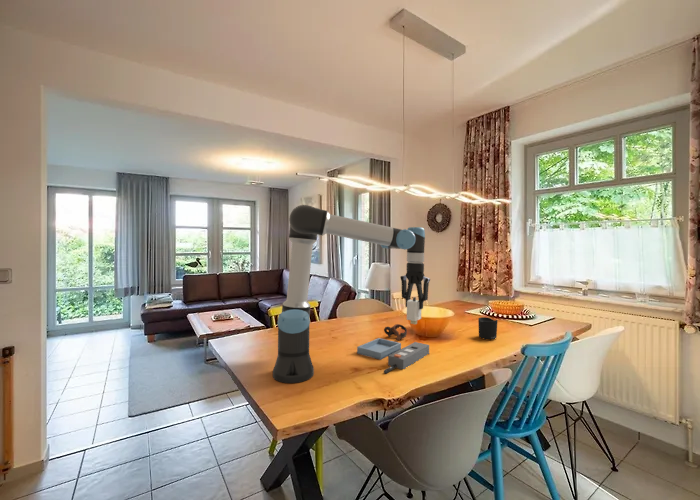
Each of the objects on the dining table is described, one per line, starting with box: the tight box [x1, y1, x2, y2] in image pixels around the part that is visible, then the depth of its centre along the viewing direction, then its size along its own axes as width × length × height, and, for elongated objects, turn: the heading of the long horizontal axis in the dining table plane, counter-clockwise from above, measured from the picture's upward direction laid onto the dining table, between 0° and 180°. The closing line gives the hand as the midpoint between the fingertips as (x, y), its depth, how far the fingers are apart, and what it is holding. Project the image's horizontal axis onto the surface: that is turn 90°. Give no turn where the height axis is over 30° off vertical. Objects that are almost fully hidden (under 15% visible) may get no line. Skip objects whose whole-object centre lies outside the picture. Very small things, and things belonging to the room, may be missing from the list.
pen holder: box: [477, 316, 498, 340], centre depth 170 cm, size 9×9×10 cm
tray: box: [356, 337, 402, 361], centre depth 146 cm, size 18×13×3 cm
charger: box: [406, 296, 422, 325], centre depth 139 cm, size 6×4×12 cm, turn 142°
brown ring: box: [383, 323, 408, 341], centre depth 167 cm, size 12×10×8 cm
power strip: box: [383, 341, 430, 375], centre depth 133 cm, size 32×7×5 cm, turn 142°
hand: (414, 315), depth 139 cm, fingers closed on charger, 4 cm apart
